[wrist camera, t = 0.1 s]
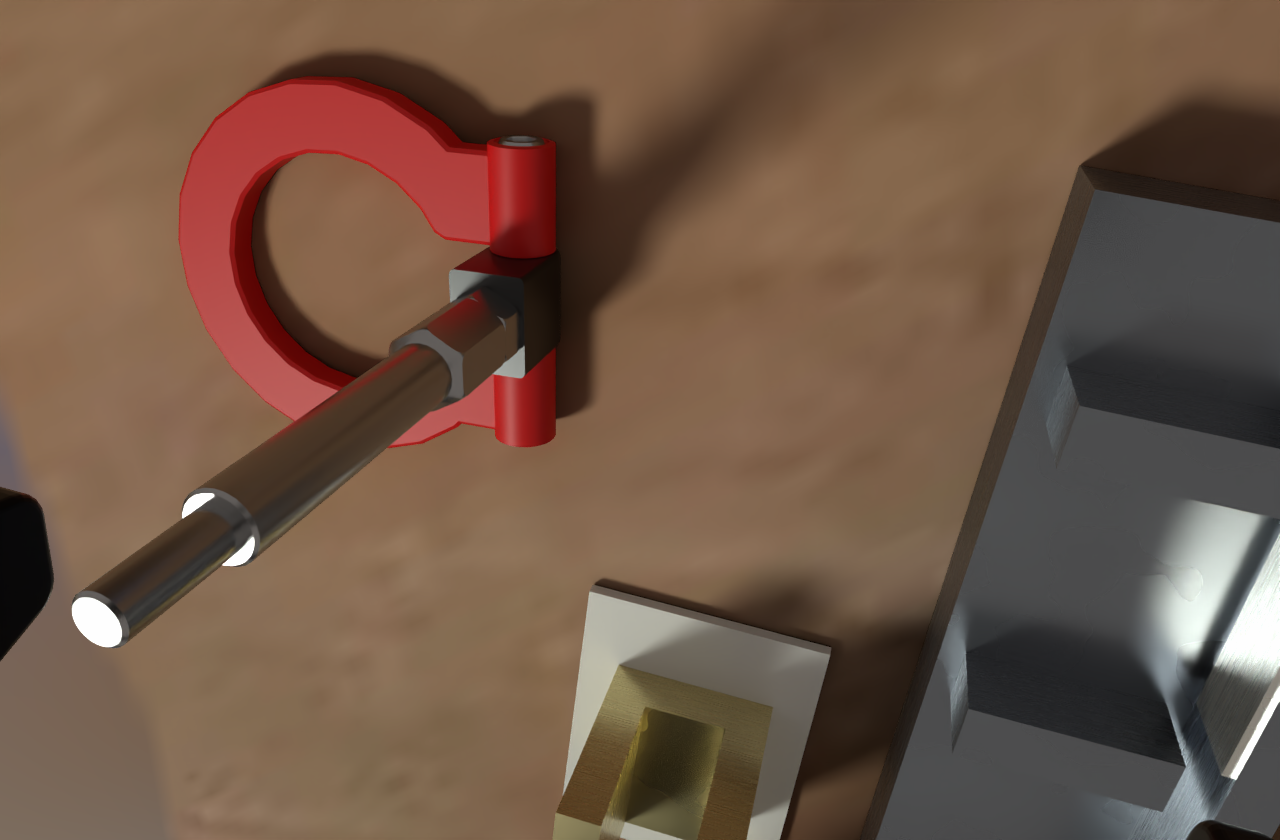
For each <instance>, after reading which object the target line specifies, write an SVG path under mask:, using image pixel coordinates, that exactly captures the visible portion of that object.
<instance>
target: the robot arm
mask: <svg viewBox="0 0 1280 840" xmlns="http://www.w3.org/2000/svg"><path fill="white" fill-rule="evenodd" d="M53 583H54V573H53V568H52V561H51V555H50V549H49V543H48V537H47V531H46V524H45V518H44V513H43V510H42V507H41V506H40V504H39V503H38V501H37V500H36V499H35V498H33V497H31V496H30V495H28V494H25V493H21V492H17V491H14V490H10V489H6V488H2V487H0V661H1V660H2V659H3V657H4V656H5V655H6V654H7V652H8V651H9V650H10V649H11V648H12V646H13V645H14V644H15V643H16V642H17V640H18V639H19V638H20V637H21V635H22V634H23V633H24V632H25V630H26V629H27V628H28V627H29V626H30V624H31V623H32V622H33V621H34V619H35V618H36V617H37V616H38V615H39V613H40V612H41V611H42V610H43V608H44V607H45V605H46V603H47V602H48V600H49V598H50V595H51V592H52V589H53ZM1186 840H1273V839H1272V838H1270V837H1269V836H1267V835H1264V834H1262V833H1259V832H1256V831H1252V830H1249V829H1245V828H1241V827H1238V826H1234V825H1230V824H1227V823H1223V822H1219V821H1216V820H1206V821H1202V822H1200V823H1199V824H1197V825H1196V826H1195V827H1194V828H1193V830H1192V831H1191V832H1190V834H1189V836H1188V838H1187V839H1186Z"/></svg>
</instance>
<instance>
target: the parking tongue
mask: <svg viewBox="0 0 1280 840" xmlns="http://www.w3.org/2000/svg"><path fill="white" fill-rule="evenodd" d="M830 654H831V647H828V646H824V645H820V644H816V643H813V642H809V641H805V640H801V639H797V638H794V637H790V636H786V635H782V634H779V633H775V632H771V631H767V630H763V629H760V628H756V627H752V626H748V625H744V624H741V623H737V622H733V621H729V620H725V619H722V618H718V617H714V616H710V615H706V614H703V613H699V612H695V611H691V610H687V609H684V608H680V607H676V606H672V605H668V604H665V603H661V602H657V601H653V600H650V599H646V598H642V597H638V596H634V595H631V594H627V593H623V592H619V591H615V590H612V589H608V588H604V587H600V586H596V585H593V586H592V588H591V590H590V592H589V600H588V607H587V615H586V622H585V630H584V638H583V645H582V653H581V661H580V668H579V676H578V684H577V691H576V699H575V707H574V714H573V722H572V730H571V737H570V745H569V753H568V760H567V768H566V776H565V783H564V791H563V795H564V793H565V790H566V788H567V785H568V783H569V781H570V778H571V776H572V774H573V771H574V769H575V767H576V764H577V762H578V759H579V757H580V755H581V752H582V750H583V748H584V745H585V743H586V741H587V738H588V736H589V734H590V731H591V729H592V726H593V724H594V722H595V719H596V717H597V715H598V712H599V710H600V708H601V705H602V703H603V700H604V698H605V696H606V693H607V691H608V689H609V686H610V684H611V682H612V679H613V677H614V675H615V672H616V670H617V667H618V665H622V666H626V667H629V668H633V669H637V670H640V671H644V672H648V673H651V674H655V675H658V676H662V677H666V678H669V679H673V680H677V681H680V682H684V683H687V684H691V685H695V686H698V687H702V688H706V689H709V690H713V691H716V692H720V693H724V694H727V695H731V696H735V697H738V698H742V699H745V700H749V701H753V702H756V703H760V704H764V705H767V706H771V707H773V711H772V716H771V720H770V725H769V730H768V735H767V740H766V745H765V750H764V755H763V760H762V765H761V770H760V775H759V780H758V785H757V790H756V795H755V800H754V805H753V810H752V815H751V820H750V825H749V830H748V835H747V840H780V837H781V833H782V830H783V826H784V822H785V819H786V815H787V811H788V808H789V804H790V800H791V797H792V793H793V789H794V786H795V782H796V778H797V775H798V771H799V768H800V764H801V760H802V757H803V753H804V749H805V746H806V742H807V738H808V735H809V731H810V727H811V724H812V720H813V717H814V713H815V709H816V706H817V702H818V698H819V695H820V691H821V687H822V684H823V680H824V676H825V673H826V669H827V666H828V662H829V658H830ZM620 837H621V838H624V839H628V840H683V839H680V838H676V837H673V836H670V835H666V834H663V833H660V832H656V831H653V830H650V829H646V828H643V827H640V826H637V825H633V824H630V823H627V822H625V824H624V827H623V830H622V833H621V836H620Z"/></svg>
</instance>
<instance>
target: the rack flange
mask: <svg viewBox="0 0 1280 840" xmlns="http://www.w3.org/2000/svg"><path fill="white" fill-rule="evenodd" d="M1206 820H1216V821H1219V822H1223V823H1227V824H1230V825H1234V826H1238V827H1241V828H1245V829H1249V830H1252V831H1256V832H1259V833H1262V834H1264V835H1267V836H1269V837H1270V838H1272V837H1273V835H1274V833H1275V831H1276V830H1277V828H1278V826H1279V825H1280V201H1277V200H1272V199H1266V198H1260V197H1255V196H1249V195H1244V194H1238V193H1232V192H1227V191H1221V190H1215V189H1210V188H1204V187H1199V186H1193V185H1187V184H1182V183H1176V182H1171V181H1165V180H1159V179H1154V178H1148V177H1142V176H1137V175H1131V174H1126V173H1120V172H1114V171H1109V170H1103V169H1097V168H1092V167H1086V166H1081V165H1079V169H1078V172H1077V175H1076V178H1075V181H1074V184H1073V187H1072V190H1071V193H1070V196H1069V199H1068V202H1067V205H1066V208H1065V211H1064V215H1063V218H1062V221H1061V224H1060V227H1059V230H1058V233H1057V236H1056V239H1055V242H1054V245H1053V248H1052V251H1051V254H1050V257H1049V261H1048V264H1047V267H1046V270H1045V273H1044V276H1043V279H1042V282H1041V285H1040V288H1039V291H1038V294H1037V297H1036V300H1035V303H1034V307H1033V310H1032V313H1031V316H1030V319H1029V322H1028V325H1027V328H1026V331H1025V334H1024V337H1023V340H1022V343H1021V346H1020V350H1019V353H1018V356H1017V359H1016V362H1015V365H1014V368H1013V371H1012V374H1011V377H1010V380H1009V383H1008V386H1007V389H1006V392H1005V396H1004V399H1003V402H1002V405H1001V408H1000V411H999V414H998V417H997V420H996V423H995V426H994V429H993V432H992V435H991V438H990V442H989V445H988V448H987V451H986V454H985V457H984V460H983V463H982V466H981V469H980V472H979V475H978V478H977V481H976V484H975V488H974V491H973V494H972V497H971V500H970V503H969V506H968V509H967V512H966V515H965V518H964V521H963V524H962V527H961V530H960V534H959V537H958V540H957V543H956V546H955V549H954V552H953V555H952V558H951V561H950V564H949V567H948V570H947V573H946V576H945V580H944V583H943V586H942V589H941V592H940V595H939V598H938V601H937V604H936V607H935V610H934V613H933V616H932V619H931V622H930V626H929V629H928V632H927V635H926V638H925V641H924V644H923V647H922V650H921V653H920V656H919V659H918V662H917V665H916V668H915V672H914V675H913V678H912V681H911V684H910V687H909V690H908V693H907V696H906V699H905V702H904V705H903V708H902V711H901V715H900V718H899V721H898V724H897V727H896V730H895V733H894V736H893V739H892V742H891V745H890V748H889V751H888V754H887V757H886V761H885V764H884V767H883V770H882V773H881V776H880V779H879V782H878V785H877V788H876V791H875V794H874V797H873V800H872V803H871V807H870V810H869V813H868V816H867V819H866V822H865V825H864V828H863V831H862V834H861V837H860V840H1186V839H1187V838H1188V836H1189V834H1190V832H1191V831H1192V830H1193V828H1194V827H1195V826H1196V825H1197V824H1199V823H1200V822H1202V821H1206Z"/></svg>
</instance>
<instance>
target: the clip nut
mask: <svg viewBox="0 0 1280 840" xmlns="http://www.w3.org/2000/svg"><path fill="white" fill-rule="evenodd" d="M772 711H773V707H771V706H767V705H764V704H760V703H756V702H753V701H749V700H745V699H742V698H738V697H735V696H731V695H727V694H724V693H720V692H716V691H713V690H709V689H706V688H702V687H698V686H695V685H691V684H687V683H684V682H680V681H677V680H673V679H669V678H666V677H662V676H658V675H655V674H651V673H648V672H644V671H640V670H637V669H633V668H629V667H626V666H622V665H618V667H617V670H616V672H615V675H614V677H613V679H612V682H611V684H610V686H609V689H608V691H607V693H606V696H605V698H604V700H603V703H602V705H601V708H600V710H599V712H598V715H597V717H596V719H595V722H594V724H593V726H592V729H591V731H590V734H589V736H588V738H587V741H586V743H585V745H584V748H583V750H582V752H581V755H580V757H579V759H578V762H577V764H576V767H575V769H574V771H573V774H572V776H571V778H570V781H569V783H568V785H567V788H566V790H565V793H564V795H563V797H562V800H561V802H560V804H559V807H558V809H557V811H556V816H555V824H554V832H553V840H619V838H620V836H621V833H622V830H623V827H624V824H625V822H627V823H630V824H633V825H637V826H640V827H643V828H646V829H650V830H653V831H656V832H660V833H663V834H666V835H670V836H673V837H676V838H680V839H683V840H747V835H748V830H749V825H750V820H751V815H752V810H753V805H754V800H755V795H756V790H757V785H758V780H759V775H760V770H761V765H762V760H763V755H764V750H765V745H766V740H767V735H768V730H769V725H770V720H771V716H772Z"/></svg>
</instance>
